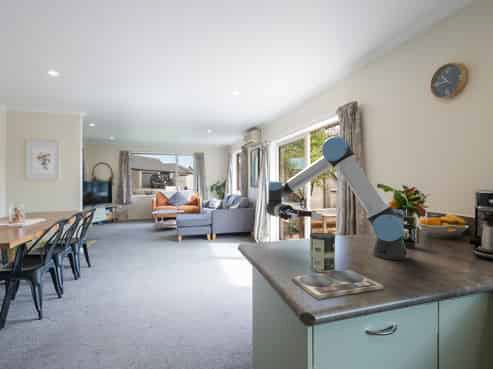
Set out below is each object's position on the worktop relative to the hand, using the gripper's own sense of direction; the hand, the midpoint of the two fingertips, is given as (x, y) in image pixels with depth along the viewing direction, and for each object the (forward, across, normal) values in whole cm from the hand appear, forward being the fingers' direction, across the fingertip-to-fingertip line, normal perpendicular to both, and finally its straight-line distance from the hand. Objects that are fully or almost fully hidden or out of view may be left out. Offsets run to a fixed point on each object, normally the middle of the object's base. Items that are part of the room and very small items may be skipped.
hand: (309, 217), depth 117 cm
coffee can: (+10, 0, -20) cm, 23 cm away
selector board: (+25, +7, -20) cm, 33 cm away
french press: (-2, -70, -20) cm, 73 cm away
